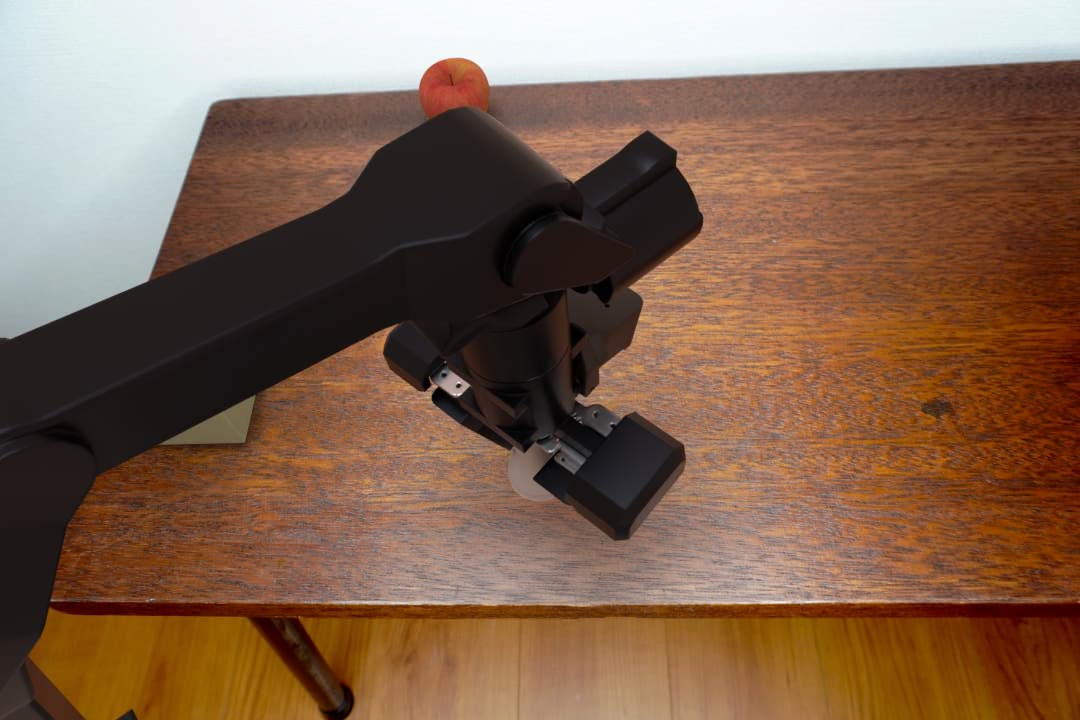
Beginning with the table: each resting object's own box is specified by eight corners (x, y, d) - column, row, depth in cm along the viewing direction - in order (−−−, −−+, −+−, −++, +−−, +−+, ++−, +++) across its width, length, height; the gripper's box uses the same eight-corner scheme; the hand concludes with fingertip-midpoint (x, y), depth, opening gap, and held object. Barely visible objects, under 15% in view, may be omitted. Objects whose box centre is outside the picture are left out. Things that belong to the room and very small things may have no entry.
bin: (245, 443, 70) (212, 407, 65) (142, 445, 71) (101, 410, 65) (269, 333, 76) (241, 292, 70) (174, 336, 77) (139, 295, 71)
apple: (486, 93, 91) (475, 32, 84) (502, 138, 87) (492, 77, 80) (421, 110, 90) (405, 49, 83) (435, 155, 86) (419, 95, 79)
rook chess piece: (514, 441, 58) (500, 385, 51) (577, 447, 57) (572, 391, 50) (503, 500, 55) (488, 450, 49) (569, 508, 55) (562, 457, 48)
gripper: (760, 323, 41) (724, 456, 54) (485, 163, 48) (513, 314, 61) (624, 487, 37) (621, 586, 50) (346, 285, 44) (408, 419, 57)
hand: (538, 463), depth 55 cm, fingers closed on rook chess piece, 4 cm apart
